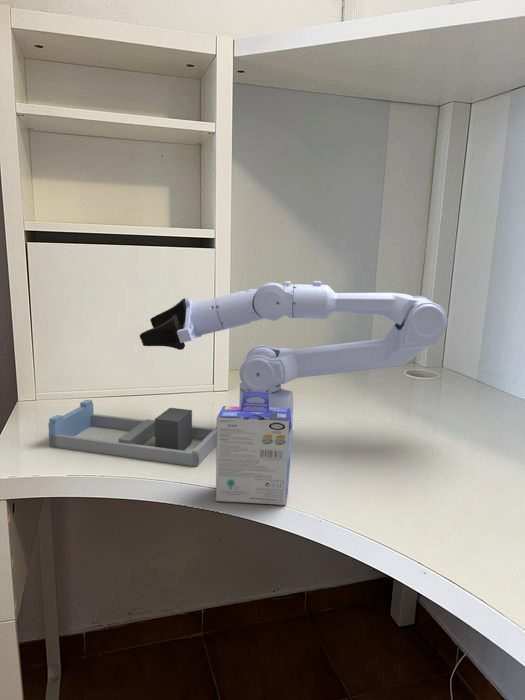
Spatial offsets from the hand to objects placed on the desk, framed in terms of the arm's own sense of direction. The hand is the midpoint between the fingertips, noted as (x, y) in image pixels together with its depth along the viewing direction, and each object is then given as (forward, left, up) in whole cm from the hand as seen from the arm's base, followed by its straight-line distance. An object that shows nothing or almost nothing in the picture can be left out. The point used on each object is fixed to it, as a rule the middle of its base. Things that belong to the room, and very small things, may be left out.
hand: (147, 331), depth 96 cm
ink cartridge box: (-25, +19, -18) cm, 36 cm away
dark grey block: (-8, +7, -18) cm, 21 cm away
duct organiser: (-1, +7, -18) cm, 19 cm away
